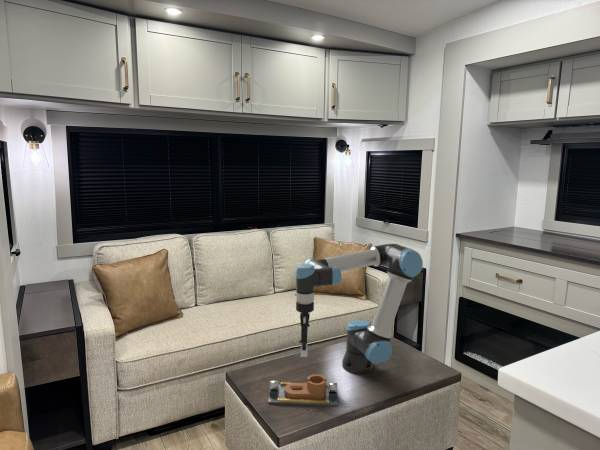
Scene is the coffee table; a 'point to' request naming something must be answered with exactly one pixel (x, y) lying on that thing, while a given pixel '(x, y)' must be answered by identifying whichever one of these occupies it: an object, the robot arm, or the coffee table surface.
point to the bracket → (307, 388)
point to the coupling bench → (279, 398)
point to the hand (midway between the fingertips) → (304, 348)
